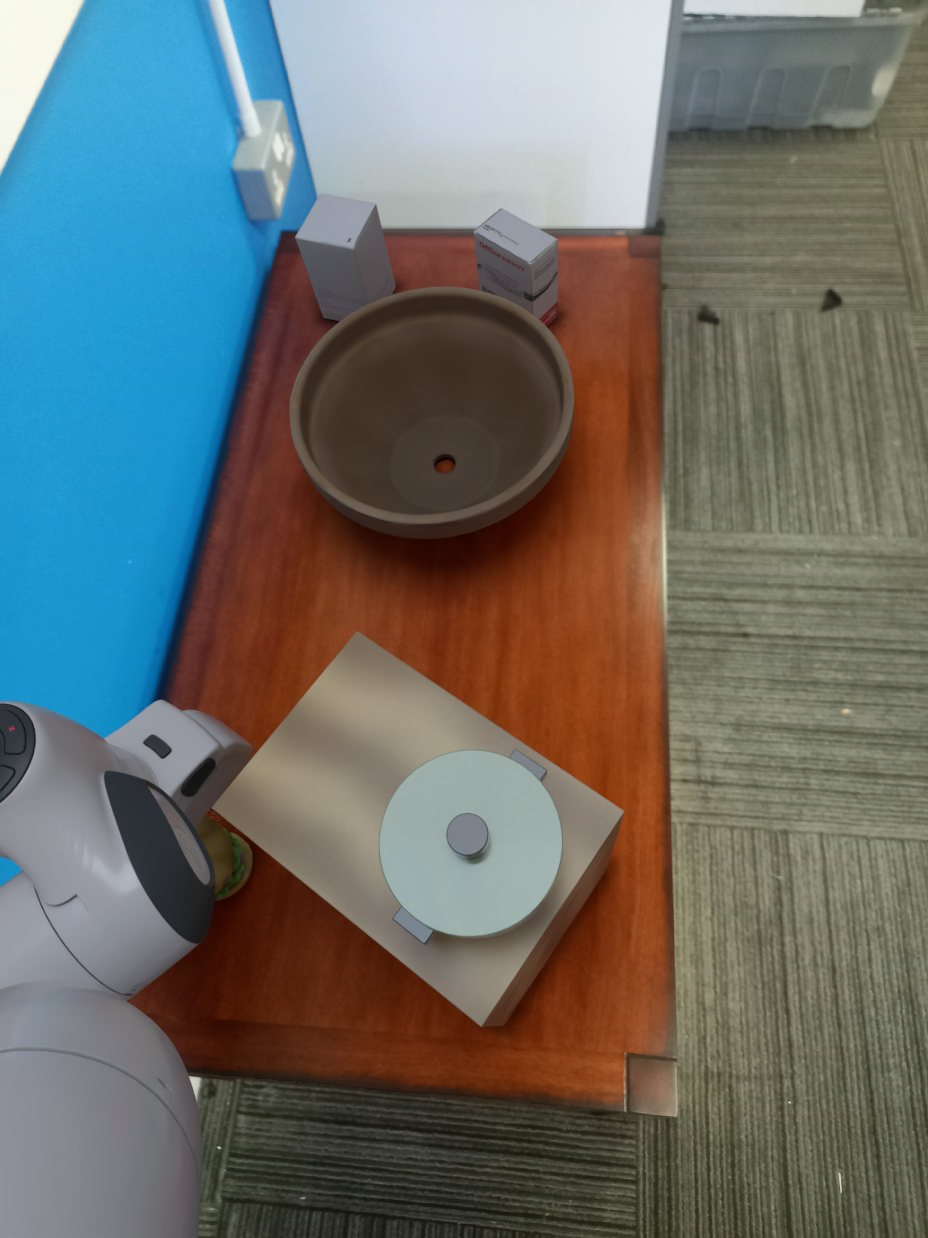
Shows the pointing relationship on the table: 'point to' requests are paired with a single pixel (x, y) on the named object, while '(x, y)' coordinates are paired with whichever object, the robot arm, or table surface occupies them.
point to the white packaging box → (345, 255)
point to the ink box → (518, 264)
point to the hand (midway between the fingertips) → (182, 849)
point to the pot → (470, 845)
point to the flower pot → (433, 411)
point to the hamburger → (225, 857)
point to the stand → (358, 796)
